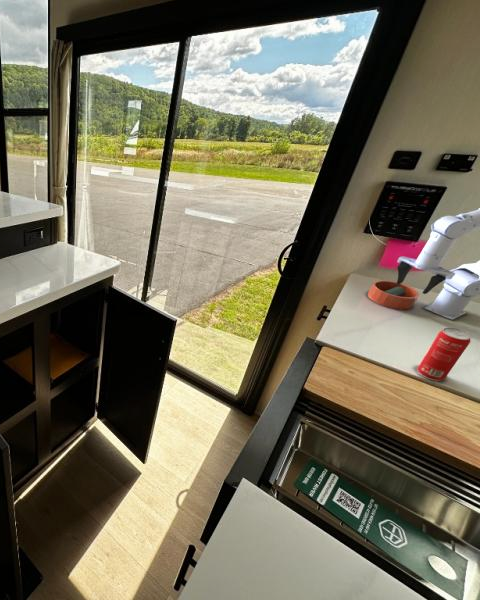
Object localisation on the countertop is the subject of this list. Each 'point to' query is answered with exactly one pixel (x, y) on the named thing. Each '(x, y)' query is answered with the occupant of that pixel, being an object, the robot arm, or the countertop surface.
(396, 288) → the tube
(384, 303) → the bowl
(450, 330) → the beverage can
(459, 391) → the countertop surface
